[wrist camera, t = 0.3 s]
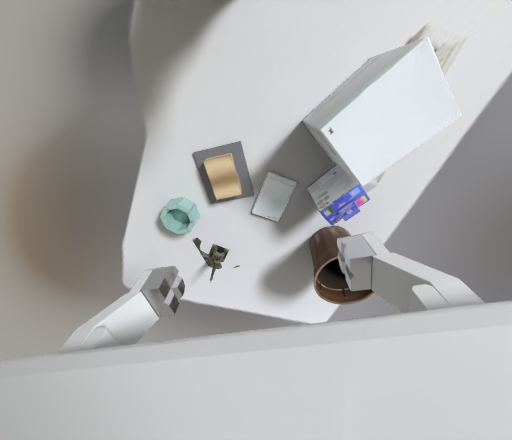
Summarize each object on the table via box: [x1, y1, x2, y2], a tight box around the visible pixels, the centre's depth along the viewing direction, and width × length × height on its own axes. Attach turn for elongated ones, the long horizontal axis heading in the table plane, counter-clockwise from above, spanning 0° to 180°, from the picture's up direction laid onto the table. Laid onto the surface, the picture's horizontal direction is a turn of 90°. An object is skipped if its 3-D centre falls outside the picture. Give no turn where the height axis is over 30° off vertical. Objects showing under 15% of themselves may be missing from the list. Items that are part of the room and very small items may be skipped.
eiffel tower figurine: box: [193, 238, 239, 282], centre depth 64 cm, size 15×10×13 cm
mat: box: [193, 141, 254, 204], centre depth 56 cm, size 14×12×1 cm
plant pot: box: [310, 226, 375, 304], centre depth 59 cm, size 16×16×16 cm
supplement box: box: [302, 37, 461, 187], centre depth 41 cm, size 17×13×18 cm
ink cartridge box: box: [307, 165, 370, 225], centre depth 50 cm, size 10×6×14 cm, turn 134°
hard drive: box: [252, 171, 297, 222], centre depth 59 cm, size 2×8×12 cm
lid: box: [204, 153, 242, 200], centre depth 55 cm, size 10×6×3 cm, turn 13°
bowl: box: [160, 197, 199, 234], centre depth 60 cm, size 9×9×4 cm
